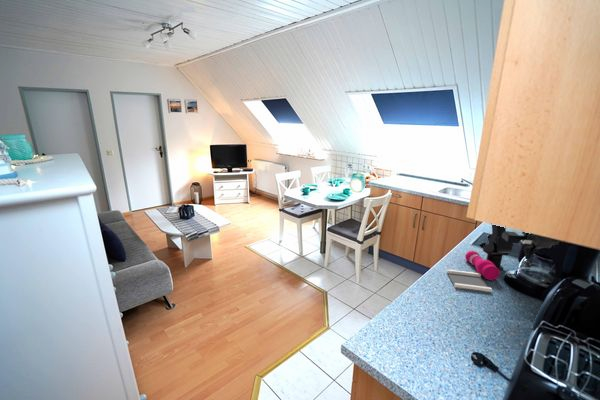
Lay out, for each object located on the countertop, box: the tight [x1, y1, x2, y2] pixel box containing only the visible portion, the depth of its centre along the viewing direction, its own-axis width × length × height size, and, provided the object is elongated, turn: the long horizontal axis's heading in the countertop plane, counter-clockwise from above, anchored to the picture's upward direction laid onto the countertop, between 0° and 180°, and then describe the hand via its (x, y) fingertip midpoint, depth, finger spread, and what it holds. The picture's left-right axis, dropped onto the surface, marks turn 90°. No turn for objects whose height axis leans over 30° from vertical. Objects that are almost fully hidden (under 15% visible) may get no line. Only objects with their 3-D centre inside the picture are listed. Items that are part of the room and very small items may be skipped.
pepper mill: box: [464, 250, 500, 281], centre depth 125 cm, size 7×7×20 cm
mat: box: [446, 269, 493, 294], centre depth 115 cm, size 12×13×2 cm
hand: (527, 259), depth 109 cm, fingers closed
